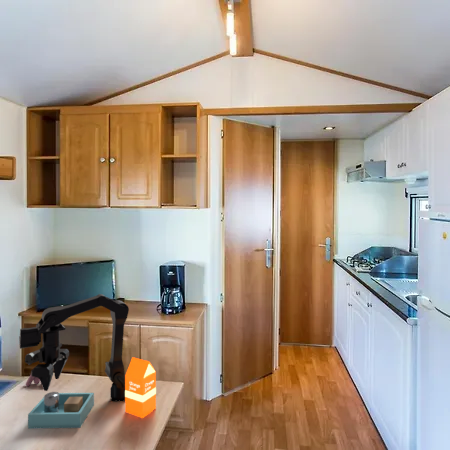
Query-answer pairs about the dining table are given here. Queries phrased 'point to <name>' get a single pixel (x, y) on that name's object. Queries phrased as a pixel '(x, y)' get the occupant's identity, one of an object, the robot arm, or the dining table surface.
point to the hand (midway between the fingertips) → (51, 384)
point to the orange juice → (140, 388)
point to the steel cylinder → (51, 402)
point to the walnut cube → (73, 404)
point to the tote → (61, 413)
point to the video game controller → (30, 379)
